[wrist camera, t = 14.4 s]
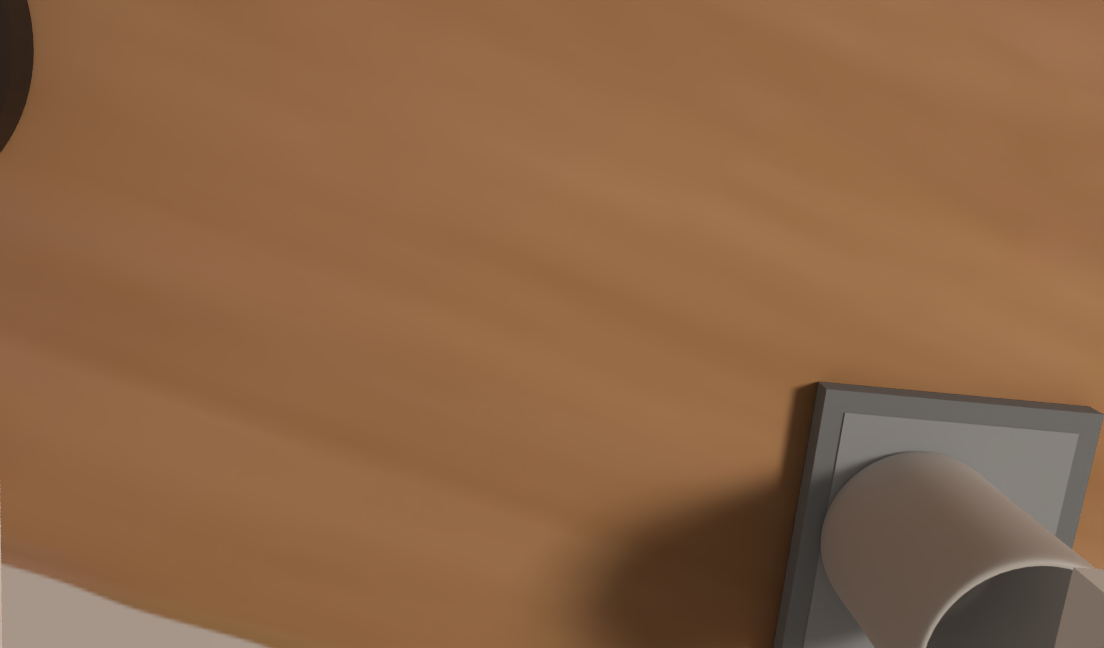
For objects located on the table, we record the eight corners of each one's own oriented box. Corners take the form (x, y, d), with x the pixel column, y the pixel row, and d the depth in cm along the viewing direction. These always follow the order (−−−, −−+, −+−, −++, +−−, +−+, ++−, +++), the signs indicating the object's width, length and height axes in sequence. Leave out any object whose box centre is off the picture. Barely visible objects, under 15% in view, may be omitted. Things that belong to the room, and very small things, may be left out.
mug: (801, 608, 47) (888, 758, 37) (838, 438, 46) (941, 543, 35) (1044, 635, 48) (1197, 789, 38) (1089, 469, 46) (1265, 581, 36)
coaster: (771, 655, 49) (778, 669, 48) (818, 381, 46) (827, 389, 45) (1026, 674, 50) (1039, 688, 49) (1089, 406, 47) (1104, 414, 46)
